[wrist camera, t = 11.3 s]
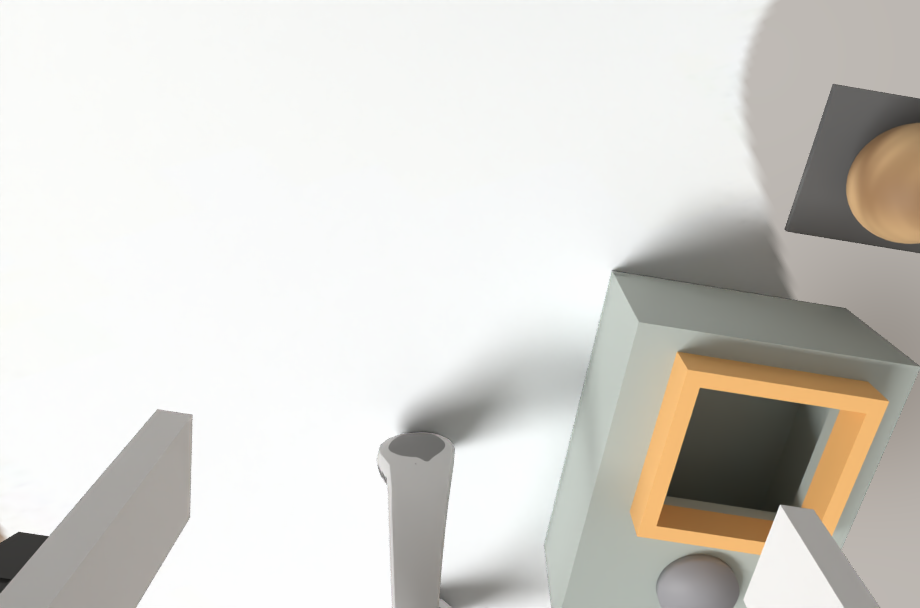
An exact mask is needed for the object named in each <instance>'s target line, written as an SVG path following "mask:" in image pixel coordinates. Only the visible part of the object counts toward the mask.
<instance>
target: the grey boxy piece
mask: <svg viewBox="0 0 920 608" xmlns="http://www.w3.org/2000/svg"><path fill="white" fill-rule="evenodd" d="M919 370H920V366H919V365H918V364H917V363H915V362H914V361H913V360H911V359H910V358H909V357H908V356H906V355H905V354H904V353H902V352H901V351H900V350H899V349H897V348H896V347H895V346H893V345H892V344H891V343H890V342H888V341H887V340H885V339H884V338H883V337H882V336H881V335H879V334H878V333H877V332H875V331H874V330H873V329H871V328H870V327H869V326H868V325H867V324H865V323H864V322H863V321H861V320H860V319H859V318H858V317H856V316H855V315H854V314H852V313H851V312H850V311H849V310H847V309H846V308H841V307H835V306H828V305H822V304H816V303H809V302H803V301H797V300H791V299H785V298H779V297H772V296H766V295H760V294H754V293H748V292H741V291H735V290H729V289H723V288H716V287H710V286H704V285H698V284H692V283H685V282H679V281H673V280H667V279H660V278H654V277H648V276H642V275H636V274H629V273H623V272H617V271H612V273H611V277H610V281H609V285H608V289H607V293H606V297H605V301H604V305H603V309H602V313H601V317H600V321H599V325H598V329H597V333H596V337H595V341H594V345H593V349H592V353H591V358H590V362H589V366H588V370H587V374H586V378H585V382H584V386H583V390H582V394H581V398H580V402H579V406H578V410H577V414H576V418H575V422H574V426H573V430H572V434H571V438H570V442H569V446H568V450H567V454H566V458H565V462H564V467H563V471H562V475H561V479H560V483H559V487H558V491H557V495H556V499H555V503H554V507H553V511H552V515H551V519H550V523H549V527H548V531H547V535H546V539H545V543H544V549H545V557H546V566H547V575H548V583H549V592H550V601H551V608H747V607H746V605H745V603H744V600H743V599H744V597H745V594H746V592H747V589H748V586H749V584H750V581H751V579H752V576H753V573H754V571H755V568H756V566H757V563H758V560H759V558H760V555H761V553H762V550H763V547H764V545H765V542H766V540H767V537H768V535H769V532H770V529H771V527H772V524H773V522H774V519H775V516H776V514H777V511H778V509H779V506H780V505H787V506H794V507H800V508H807V509H813V510H814V511H815V512H816V514H817V515H818V517H819V518H820V520H821V521H822V523H823V524H824V526H825V527H826V528H827V530H828V531H829V533H830V534H831V536H832V537H833V539H834V540H835V542H836V543H837V545H838V546H839V548H840V549H842V547H843V544H844V542H845V540H846V538H847V535H848V533H849V531H850V529H851V526H852V524H853V522H854V519H855V517H856V515H857V512H858V510H859V508H860V505H861V503H862V501H863V499H864V496H865V494H866V492H867V489H868V487H869V485H870V483H871V480H872V478H873V476H874V473H875V471H876V469H877V467H878V464H879V462H880V460H881V457H882V455H883V453H884V450H885V448H886V446H887V444H888V441H889V439H890V437H891V434H892V432H893V430H894V427H895V425H896V423H897V420H898V418H899V416H900V414H901V412H902V409H903V407H904V405H905V402H906V400H907V398H908V395H909V393H910V391H911V389H912V386H913V384H914V382H915V379H916V377H917V375H918V372H919Z"/></svg>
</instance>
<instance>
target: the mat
mask: <svg viewBox="0 0 920 608" xmlns="http://www.w3.org/2000/svg"><path fill="white" fill-rule="evenodd" d="M912 123H920V99H918V98H913V97H906V96H901V95H895V94H889V93H883V92H877V91H871V90H865V89H860V88H853V87H848V86H842V85H836V84H833V85H832V88H831V91H830V94H829V97H828V100H827V104H826V106H825V110H824V112H823V115H822V118H821V122H820V124H819V128H818V131H817V134H816V137H815V140H814V143H813V146H812V149H811V152H810V155H809V158H808V161H807V164H806V167H805V170H804V173H803V176H802V179H801V182H800V185H799V188H798V191H797V194H796V197H795V200H794V203H793V206H792V209H791V212H790V215H789V218H788V221H787V224H786V227H785V230H786V231H788V232H794V233H800V234H806V235H812V236H818V237H824V238H830V239H836V240H842V241H848V242H855V243H861V244H868V245H873V246H880V247H886V248H892V249H897V250H904V251H910V252H916V253H920V243H917V244H904V243H896V242H892V241H888V240H885V239H883V238H880V237H878V236H876V235H874V234H872V233H871V232H869V231H868V230H867V229H865V228H864V227H863V226H862V225H861V224H860V223H859V222H858V221H857V219H856V218H855V216H854V215H853V213H852V211H851V209H850V207H849V204H848V200H847V195H846V183H847V176H848V173H849V170H850V167H851V165H852V163H853V161H854V159H855V158H856V156H857V155H858V154H859V152H860V151H861V150H862V149H863V148H864V147H865V146H866V145H867V144H868V143H869V142H870V141H871V140H873V139H874V138H875V137H877V136H878V135H880V134H882V133H884V132H885V131H888V130H890V129H892V128H895V127H898V126H901V125H906V124H912Z"/></svg>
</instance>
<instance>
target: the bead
mask: <svg viewBox="0 0 920 608" xmlns="http://www.w3.org/2000/svg"><path fill="white" fill-rule="evenodd" d="M846 195H847V200H848V204H849V207H850V209H851V211H852V213H853V215H854V216H855V218H856V219H857V221H858V222H859V223H860V224H861V225H862V226H863V227H864V228H865V229H867V230H868V231H869V232H871V233H872V234H874V235H876V236H878V237H880V238H883V239H885V240H888V241H892V242H896V243H904V244H917V243H920V123H912V124H906V125H901V126H898V127H895V128H892V129H890V130H888V131H885V132H884V133H882V134H880V135H878V136H877V137H875V138H874V139H873V140H871V141H870V142H869V143H868V144H867V145H866V146H865V147H864V148H863V149H862V150H861V151H860V152H859V154H858V155H857V156H856V158H855V159H854V161H853V163H852V165H851V167H850V170H849V173H848V176H847V183H846Z"/></svg>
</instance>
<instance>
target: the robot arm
mask: <svg viewBox="0 0 920 608" xmlns="http://www.w3.org/2000/svg"><path fill="white" fill-rule="evenodd" d="M191 455H192V415H191V414H184V413H178V412H171V411H165V410H158V409H157V410H156V412H155V413H154V414H153V415H152V416H151V417H150V419H149V420H148V421H147V422H146V423H145V424H144V426H143V427H142V428H141V429H140V430H139V432H138V433H137V434H136V435H135V436H134V437H133V439H132V440H131V441H130V442H129V443H128V444H127V446H126V447H125V448H124V449H123V450H122V451H121V453H120V454H119V455H118V456H117V457H116V458H115V460H114V461H113V462H112V463H111V464H110V465H109V467H108V468H107V469H106V470H105V471H104V473H103V474H102V475H101V476H100V477H99V478H98V480H97V481H96V482H95V483H94V484H93V485H92V487H91V488H90V489H89V490H88V491H87V492H86V494H85V495H84V496H83V497H82V498H81V499H80V501H79V502H78V503H77V504H76V505H75V507H74V508H73V509H72V510H71V511H70V512H69V514H68V515H67V516H66V517H65V518H64V519H63V521H62V522H61V523H60V524H59V525H58V526H57V528H56V529H55V530H54V531H53V532H52V533H51V535H50V536H43V535H36V534H29V533H23V532H18V533H16V534H14V535H13V536H11V537H9V538H8V539H6V540H4V541H3V542H1V543H0V608H136V607H137V605H138V603H139V602H140V600H141V598H142V597H143V595H144V593H145V592H146V590H147V588H148V587H149V585H150V583H151V582H152V580H153V578H154V577H155V575H156V573H157V572H158V570H159V568H160V567H161V565H162V563H163V562H164V560H165V558H166V557H167V555H168V553H169V552H170V550H171V548H172V547H173V545H174V543H175V542H176V540H177V538H178V537H179V535H180V533H181V532H182V530H183V528H184V527H185V525H186V523H187V522H188V520H189V518H190V495H191ZM743 600H744V603H745V605H746V607H747V608H880V607H879V605H878V603H877V602H876V600H875V599H874V597H873V596H872V595H871V593H870V592H869V590H868V589H867V587H866V586H865V584H864V583H863V581H862V580H861V578H860V577H859V575H858V574H857V573H856V571H855V570H854V568H853V567H852V565H851V564H850V562H849V561H848V559H847V558H846V556H845V555H844V553H843V552H842V551H841V549H840V548H839V546H838V545H837V543H836V542H835V540H834V539H833V537H832V536H831V534H830V533H829V531H828V530H827V528H826V527H825V526H824V524H823V523H822V521H821V520H820V518H819V517H818V515H817V514H816V512H815V511H814V510H813V509H807V508H800V507H794V506H787V505H780V506H779V509H778V511H777V514H776V516H775V519H774V522H773V524H772V527H771V529H770V532H769V535H768V537H767V540H766V542H765V545H764V547H763V550H762V553H761V555H760V558H759V560H758V563H757V566H756V568H755V571H754V573H753V576H752V579H751V581H750V584H749V586H748V589H747V592H746V594H745V597H744V599H743Z"/></svg>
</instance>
